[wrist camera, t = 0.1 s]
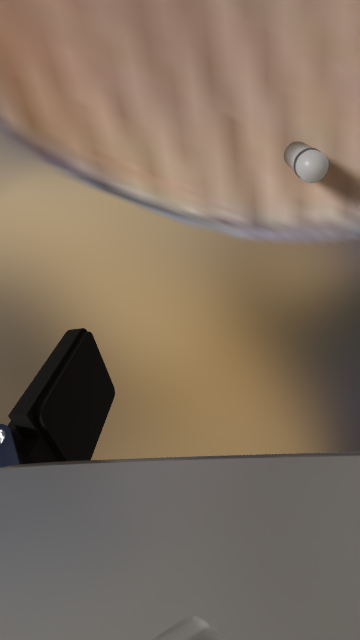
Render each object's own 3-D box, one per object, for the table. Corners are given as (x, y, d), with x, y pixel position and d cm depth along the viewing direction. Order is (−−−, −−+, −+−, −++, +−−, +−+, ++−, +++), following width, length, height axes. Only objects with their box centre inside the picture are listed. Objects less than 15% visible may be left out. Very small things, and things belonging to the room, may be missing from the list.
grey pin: (294, 135, 35) (311, 144, 28) (313, 149, 35) (336, 161, 28) (278, 159, 36) (291, 173, 29) (297, 172, 36) (315, 189, 29)
